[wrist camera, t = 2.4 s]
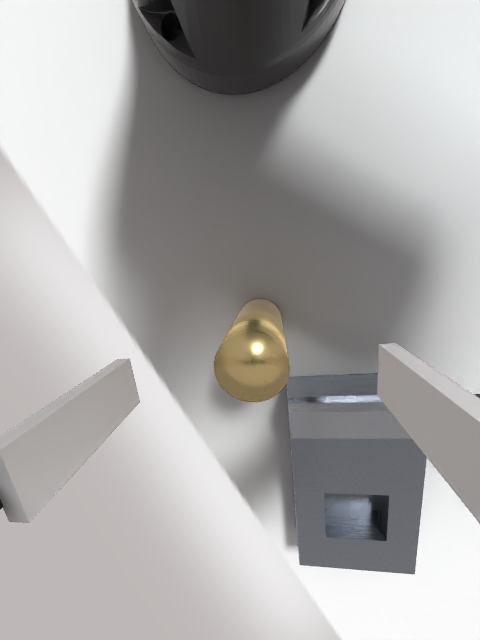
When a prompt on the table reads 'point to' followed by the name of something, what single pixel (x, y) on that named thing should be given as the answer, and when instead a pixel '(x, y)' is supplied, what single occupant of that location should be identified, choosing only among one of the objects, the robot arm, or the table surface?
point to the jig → (353, 476)
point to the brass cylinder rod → (254, 354)
